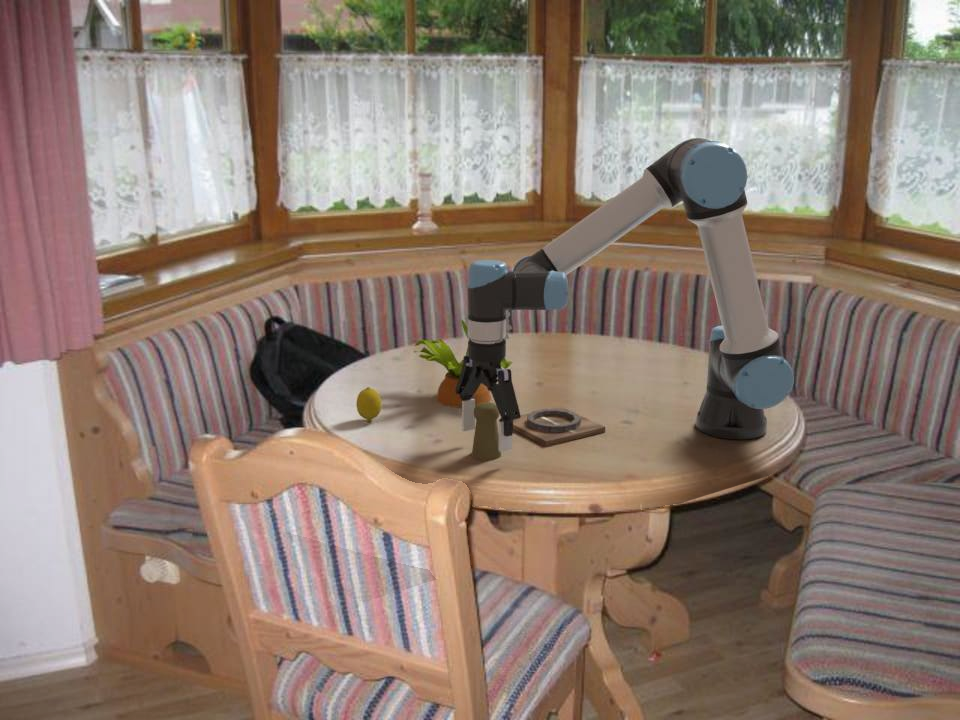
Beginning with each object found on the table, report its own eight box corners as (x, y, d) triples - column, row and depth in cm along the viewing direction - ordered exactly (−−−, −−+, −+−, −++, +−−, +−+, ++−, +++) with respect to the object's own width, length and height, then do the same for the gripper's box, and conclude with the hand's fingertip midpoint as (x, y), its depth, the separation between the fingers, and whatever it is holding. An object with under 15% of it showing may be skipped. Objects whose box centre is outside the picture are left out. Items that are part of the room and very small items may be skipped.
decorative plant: (532, 400, 234) (534, 297, 227) (459, 424, 218) (458, 315, 211) (455, 376, 253) (455, 280, 246) (382, 396, 237) (379, 295, 230)
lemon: (358, 426, 217) (356, 391, 215) (356, 417, 222) (355, 384, 220) (383, 424, 218) (382, 390, 216) (380, 416, 223) (379, 382, 221)
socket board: (605, 432, 214) (605, 421, 213) (546, 446, 205) (546, 435, 205) (560, 411, 226) (560, 401, 226) (503, 424, 218) (503, 413, 217)
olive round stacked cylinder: (500, 449, 204) (500, 399, 201) (501, 460, 198) (502, 408, 195) (471, 449, 204) (471, 399, 201) (472, 460, 198) (472, 408, 195)
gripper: (539, 350, 186) (537, 455, 192) (469, 323, 206) (469, 418, 212) (507, 356, 182) (505, 463, 188) (438, 328, 202) (439, 425, 208)
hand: (486, 439), depth 200 cm, fingers open, 13 cm apart
